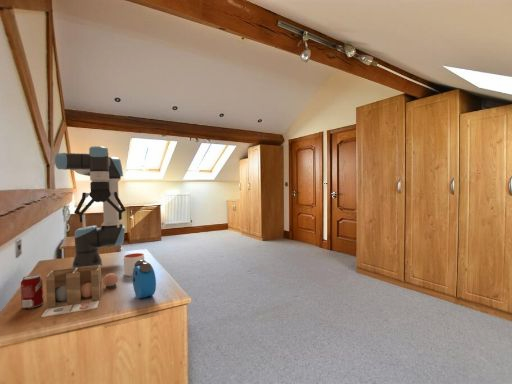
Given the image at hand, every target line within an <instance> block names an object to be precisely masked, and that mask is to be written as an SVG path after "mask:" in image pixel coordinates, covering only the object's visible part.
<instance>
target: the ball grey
mask: <svg viewBox="0 0 512 384" xmlns="http://www.w3.org/2000/svg"><path fill="white" fill-rule="evenodd" d="M55 298H56V299H57V300H58V301H61V302H63V301H67V286H62V287H60V288H58V289H57V290H56V292H55Z"/></svg>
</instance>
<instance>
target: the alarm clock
mask: <svg viewBox="0 0 512 384" xmlns="http://www.w3.org/2000/svg"><path fill="white" fill-rule="evenodd" d="M132 286H133V287H132V288H133V291H134V294H135V296H136V298H137V299H143V298H144V299H145V298H146V297H151V298H153V296H154V295H155V293H156V291H157V278H156V273H155V271H154V268H153V266H152V264H151V263H149V262H147V261H146V260H145V259H144V260H139V261H137V262H136V263H135V267H134V269H133V276H132Z"/></svg>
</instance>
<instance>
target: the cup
mask: <svg viewBox="0 0 512 384" xmlns="http://www.w3.org/2000/svg"><path fill="white" fill-rule="evenodd" d="M139 260H145V254H144V253H141V252H140V253H139V252H138V253H137V252H135V253H128V254H126V255H123V274H124V276H126V277H133V269H134V267H135V263H136V262H137V261H139Z"/></svg>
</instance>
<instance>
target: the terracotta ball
mask: <svg viewBox="0 0 512 384" xmlns="http://www.w3.org/2000/svg"><path fill="white" fill-rule="evenodd" d="M80 289H81V296H82V297H84V298H89V297H91V296H92V285H91V283H85V284H84V285H82V286H81V288H80Z"/></svg>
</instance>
